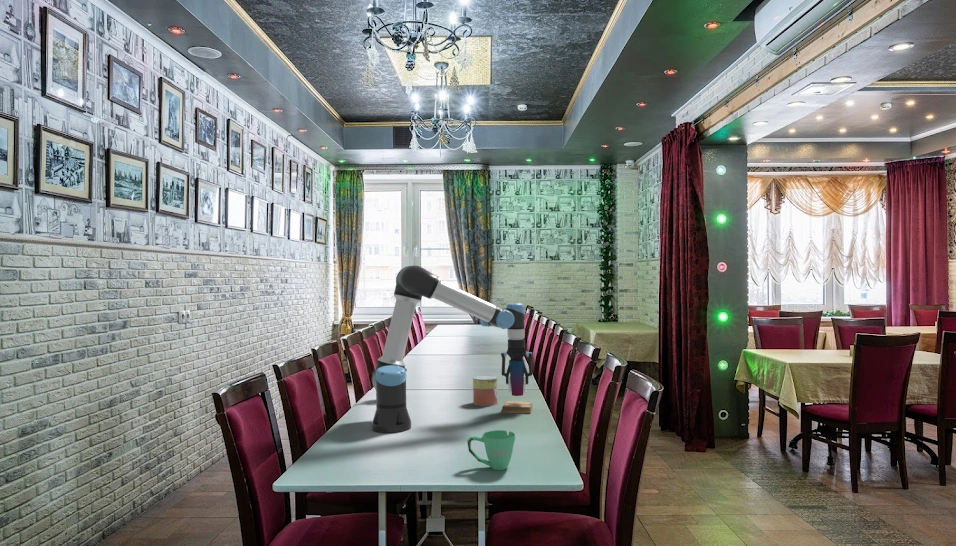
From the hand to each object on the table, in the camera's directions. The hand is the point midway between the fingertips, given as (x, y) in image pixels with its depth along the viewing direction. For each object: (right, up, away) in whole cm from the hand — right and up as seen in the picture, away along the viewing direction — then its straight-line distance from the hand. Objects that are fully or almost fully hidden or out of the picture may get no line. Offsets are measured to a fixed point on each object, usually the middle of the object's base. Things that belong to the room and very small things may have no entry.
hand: (517, 391), depth 255 cm
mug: (-13, -7, -78) cm, 79 cm away
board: (0, -8, 0) cm, 8 cm away
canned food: (-14, -9, +15) cm, 22 cm away
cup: (0, -2, 0) cm, 2 cm away
